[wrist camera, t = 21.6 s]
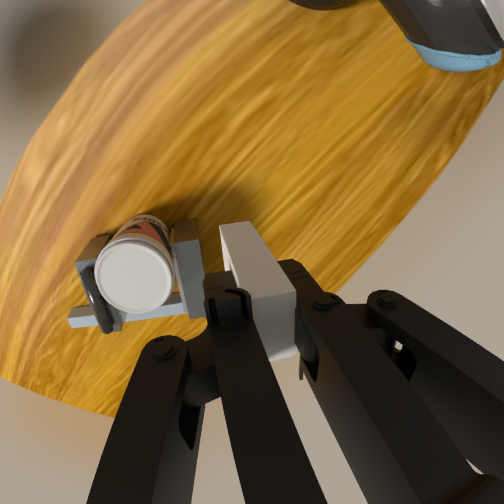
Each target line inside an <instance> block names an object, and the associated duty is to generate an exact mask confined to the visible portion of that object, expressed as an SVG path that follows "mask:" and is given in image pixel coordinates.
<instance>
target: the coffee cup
mask: <svg viewBox="0 0 504 504" xmlns="http://www.w3.org/2000/svg"><path fill="white" fill-rule="evenodd" d="M169 244H170V232H169V230H168V228H167V226H166V225H165V224H164V223H163V222H162V221H161V220H160V219H158V218H156V217H154V216H151V215H138V216H135V217H133V218H131V219H129V220H128V221H127V222H126V223H125V224H124V225H123V226H122V227H121V229H120V230H119V231H118V232H117V233H116V235H115V236H114V237H113V238H112V240H111V241H110V242H109V243H108V245H106V246H105V247H104V248H103V250H102V251H101V252H100V254H99V256H98V258H97V260H96V264H95V271H94V272H95V280H96V283H97V286H98V289H99V291H100V293H101V294H102V296H103V297H104V298H105V299H106V300H107V301H108V302H109V303H110V304H111V305H113V306H114V307H116V308H117V309H120V310H122V311H125V312H129V313H146V312H150V311H153V310H155V309H156V308H158V307H160V306H161V305H162V304H163V303H164V302H166V300H167V299H168V298H169V297H170V295H171V293H172V291H173V288H174V284H175V271H174V267H173V257H172V252H171V250H170V246H169Z"/></svg>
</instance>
